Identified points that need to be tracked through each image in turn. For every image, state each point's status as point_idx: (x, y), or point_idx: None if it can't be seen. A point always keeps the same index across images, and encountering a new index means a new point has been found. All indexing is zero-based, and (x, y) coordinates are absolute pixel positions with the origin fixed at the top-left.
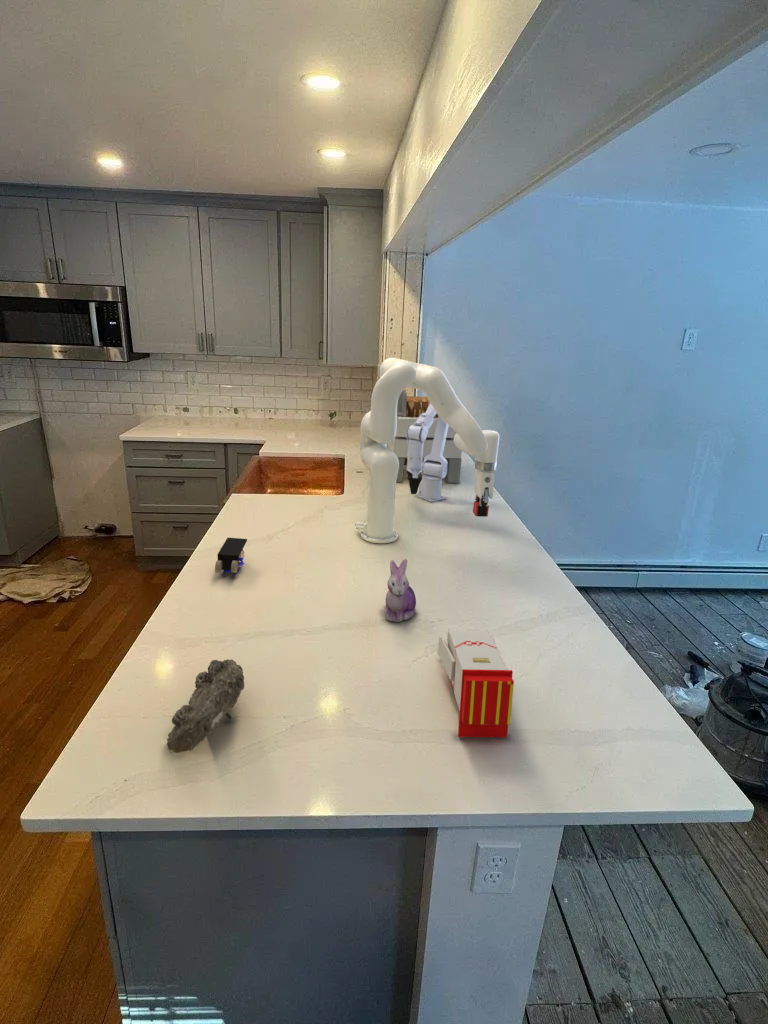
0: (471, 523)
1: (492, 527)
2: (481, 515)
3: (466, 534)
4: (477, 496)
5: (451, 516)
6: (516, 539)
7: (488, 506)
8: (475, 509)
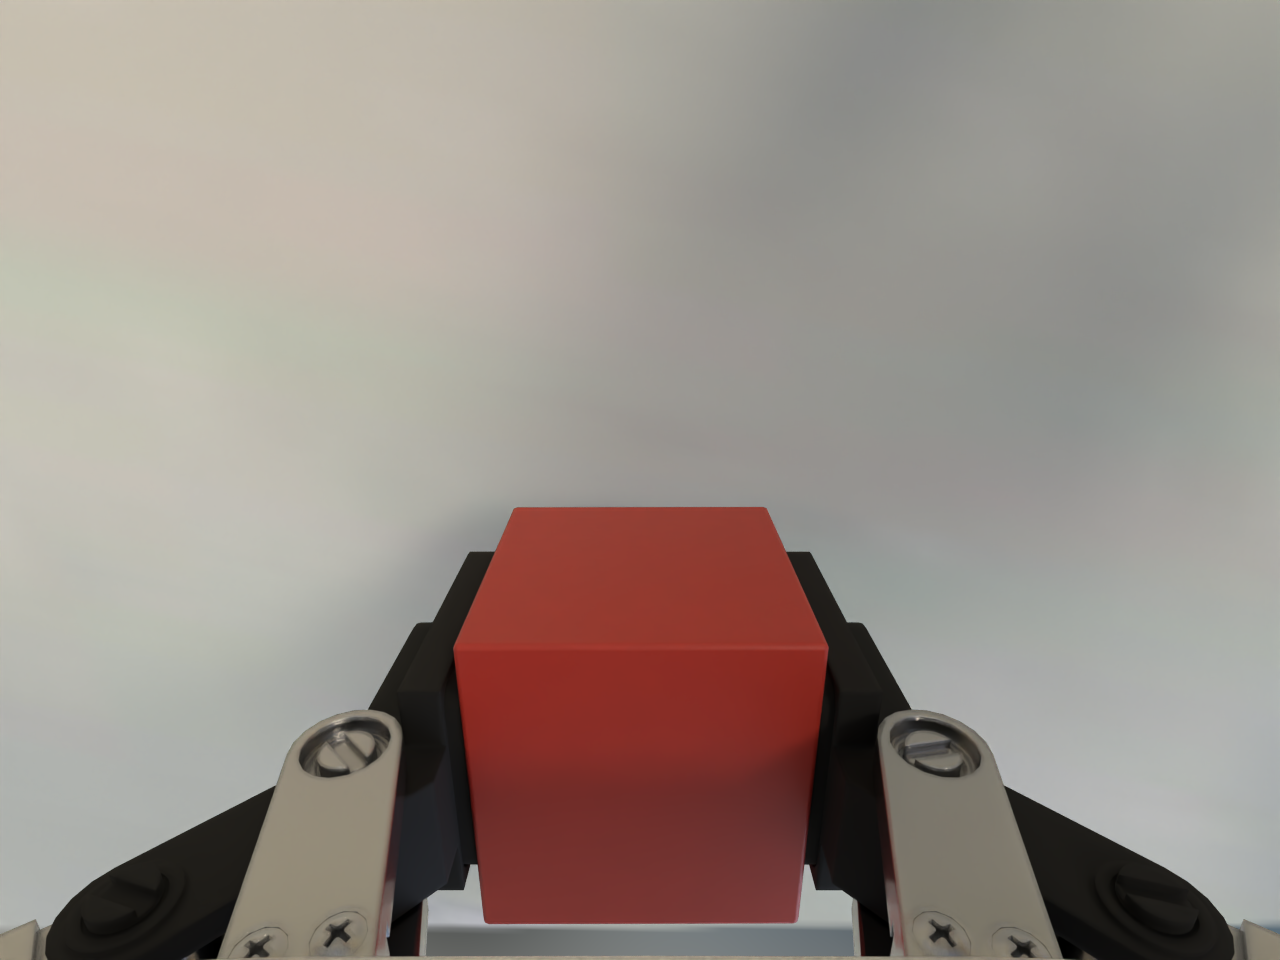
0: (808, 442)
1: None
2: None
3: (331, 260)
4: (887, 868)
5: (1172, 162)
6: None
7: (487, 898)
8: (550, 569)
